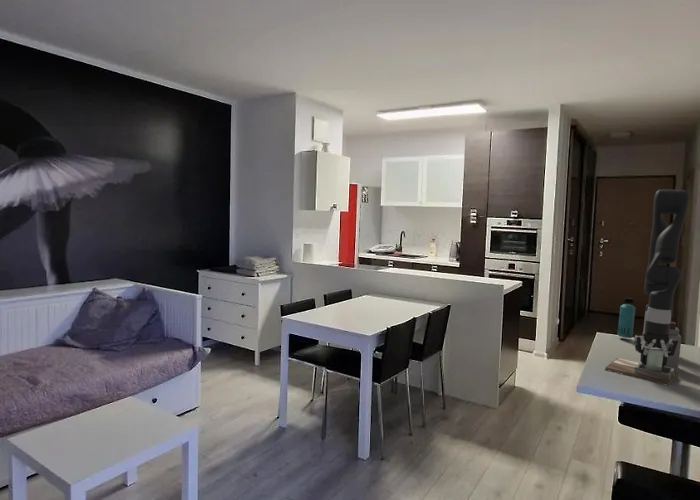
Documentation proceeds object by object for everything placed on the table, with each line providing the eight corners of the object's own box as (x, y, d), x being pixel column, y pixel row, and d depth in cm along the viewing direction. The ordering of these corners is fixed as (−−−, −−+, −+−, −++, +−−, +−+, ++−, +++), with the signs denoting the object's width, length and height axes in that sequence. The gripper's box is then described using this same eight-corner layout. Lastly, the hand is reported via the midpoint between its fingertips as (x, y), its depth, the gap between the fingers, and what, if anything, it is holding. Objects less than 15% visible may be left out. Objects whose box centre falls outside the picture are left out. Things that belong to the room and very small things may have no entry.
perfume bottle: (674, 366, 186) (679, 321, 185) (677, 371, 180) (682, 325, 178) (654, 363, 189) (658, 319, 187) (656, 368, 183) (661, 322, 181)
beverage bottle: (628, 337, 227) (632, 296, 225) (635, 341, 220) (639, 299, 219) (614, 336, 228) (618, 296, 226) (620, 340, 221) (624, 298, 219)
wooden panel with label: (617, 360, 191) (618, 352, 191) (676, 373, 177) (677, 366, 177) (605, 369, 178) (606, 361, 178) (668, 385, 165) (669, 376, 165)
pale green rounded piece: (657, 368, 176) (659, 347, 175) (667, 375, 169) (669, 354, 168) (640, 366, 177) (643, 346, 176) (650, 374, 170) (652, 352, 169)
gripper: (674, 319, 174) (669, 363, 176) (632, 316, 177) (627, 359, 179) (685, 324, 167) (679, 370, 169) (640, 320, 170) (635, 366, 171)
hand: (652, 364), depth 174 cm, fingers closed on pale green rounded piece, 5 cm apart
